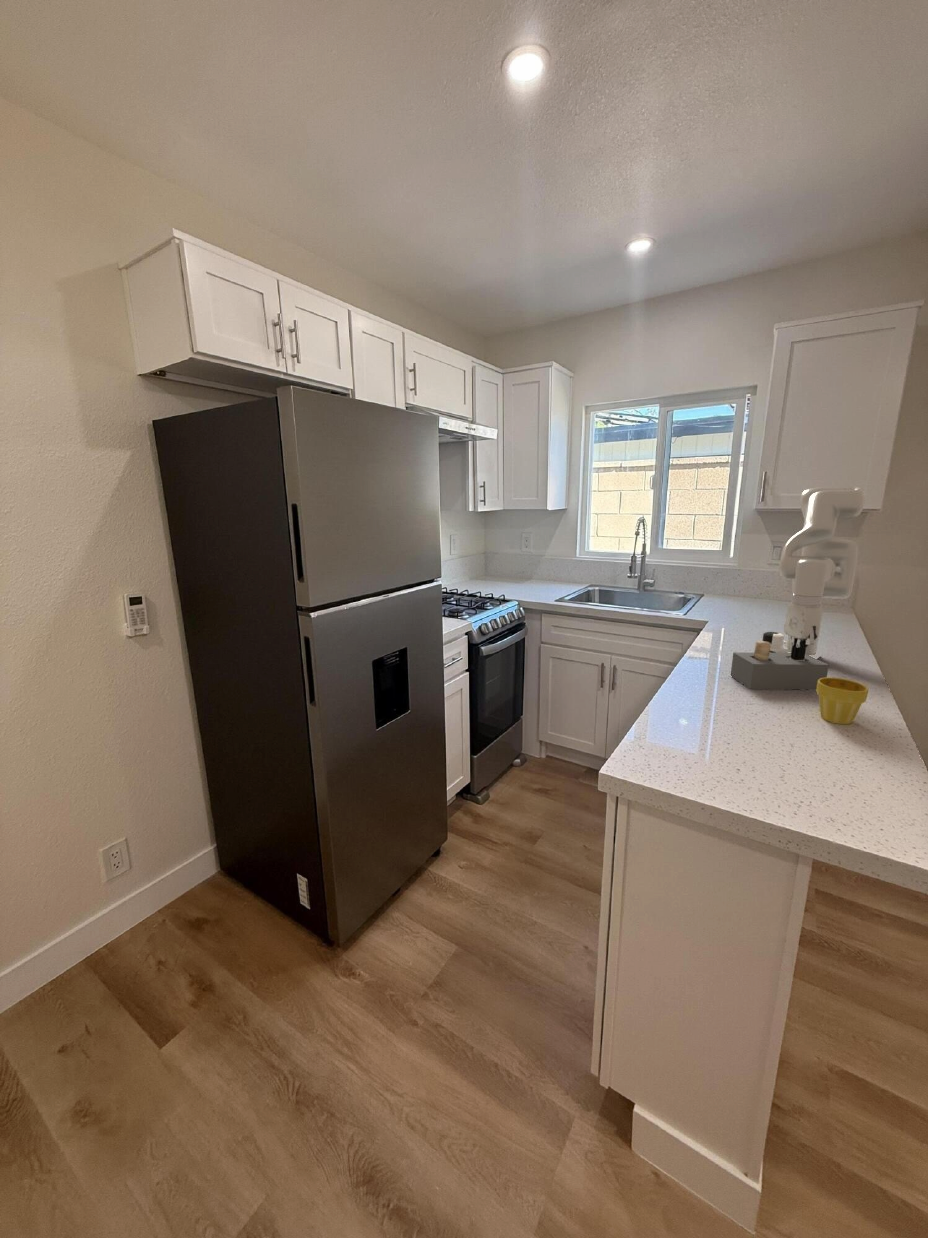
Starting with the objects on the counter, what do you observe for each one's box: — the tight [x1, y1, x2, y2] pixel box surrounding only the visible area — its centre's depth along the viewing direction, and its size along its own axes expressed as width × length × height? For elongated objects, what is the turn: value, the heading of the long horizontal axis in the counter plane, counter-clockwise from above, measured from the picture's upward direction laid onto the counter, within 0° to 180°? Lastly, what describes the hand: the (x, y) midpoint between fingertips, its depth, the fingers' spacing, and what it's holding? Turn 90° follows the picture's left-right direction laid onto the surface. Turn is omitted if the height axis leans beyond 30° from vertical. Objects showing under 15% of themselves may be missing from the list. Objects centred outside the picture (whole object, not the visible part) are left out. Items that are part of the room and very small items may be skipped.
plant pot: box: [815, 676, 869, 725], centre depth 127 cm, size 10×10×10 cm
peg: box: [753, 640, 771, 661], centre depth 153 cm, size 4×4×7 cm
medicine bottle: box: [761, 631, 789, 653], centre depth 169 cm, size 7×7×12 cm
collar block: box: [730, 651, 830, 690], centre depth 154 cm, size 12×22×8 cm, turn 88°
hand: (797, 659), depth 153 cm, fingers closed
